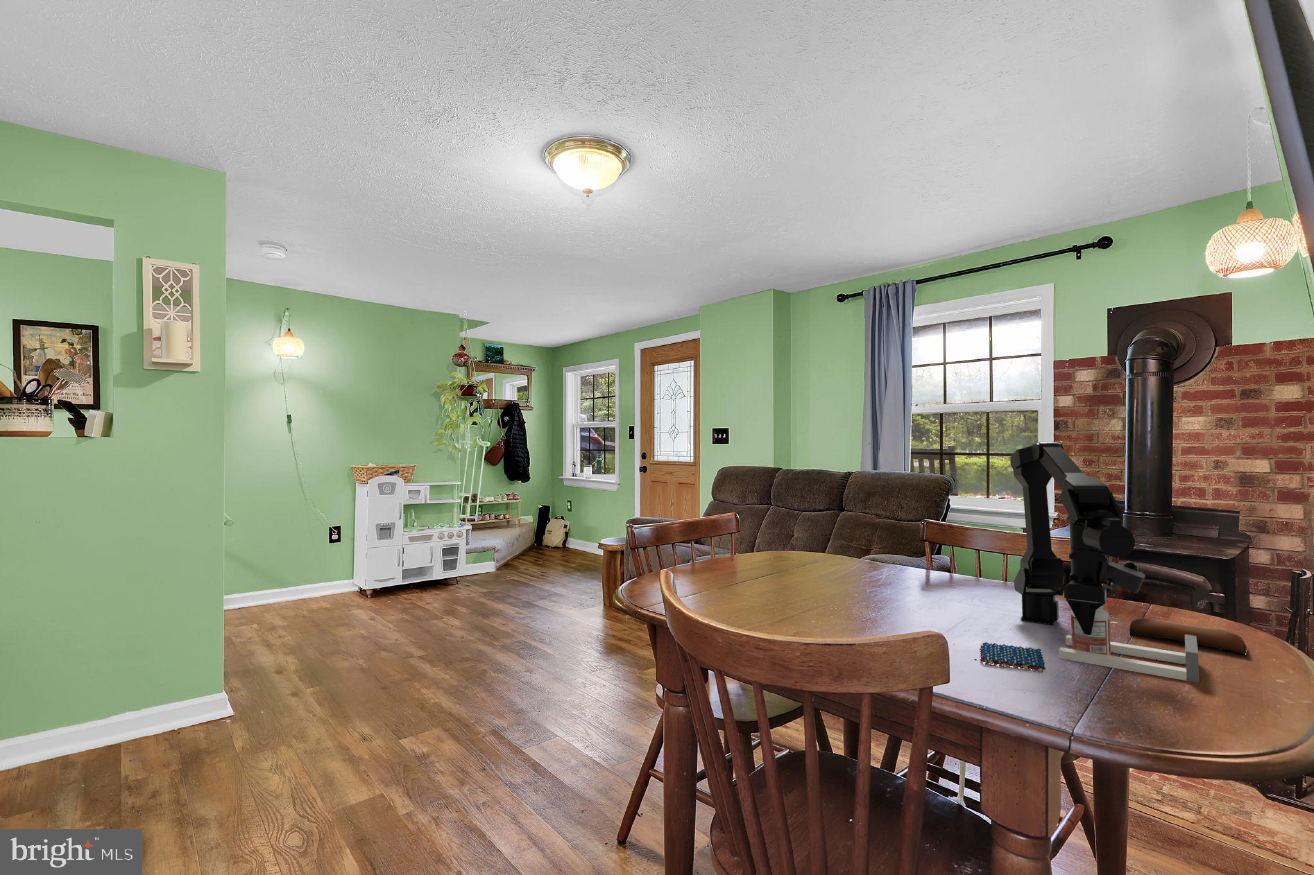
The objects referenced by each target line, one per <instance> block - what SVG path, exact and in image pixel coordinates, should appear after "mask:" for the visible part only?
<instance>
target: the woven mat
mask: <svg viewBox="0 0 1314 875" xmlns="http://www.w3.org/2000/svg"><path fill="white" fill-rule="evenodd" d="M980 650H981V651H980ZM980 652H981V653H980ZM979 653H980V657H981V659H980V658H979V660H980V662H982V661H983V662H986V664H988V663H990V664H993V663H995V665H996V664H1000V665H1003V666H1006V667H1007V666H1008V665H1009V666H1013V667H1015V668H1016V669H1017V668H1018V667H1020V669H1022V668H1024V669H1023V670H1024V671H1029V670H1030V669H1032V671H1031V672H1033V669H1034V670H1038V672H1039V673H1043V672H1044V671H1045V670H1046V666H1045V659H1044V656H1043V654H1042V653H1043V652H1042V649H1041V648H1034V647H1033V648H1032V647H1030V646H1029V647H1023V646H1022V645H1021V646H1018V645H1016V646H1014V645H1012V644H1011V645H1009V644H1007V645H1006V644H1004V643H1003V644H1001V643H1000V644H997V643H995V642H994V643H992V642H990V643H989V642H987V641H985V642H982V643H981V645H980V648H979ZM1009 666H1008V667H1009ZM1028 669H1029V670H1028Z"/></svg>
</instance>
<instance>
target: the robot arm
mask: <svg viewBox="0 0 1314 875" xmlns="http://www.w3.org/2000/svg"><path fill="white" fill-rule="evenodd" d="M1009 461H1010V462H1009V463H1010V466H1011V468H1012V472H1013V477H1014V478H1015V479H1016V480H1017V482H1018V483H1019V484H1020V485H1021V486H1022V493H1023V494H1022V495H1023V496H1022V497H1023V508H1024V520H1025V534H1026V545H1027V546H1026V547H1027V549H1026V551H1025V553H1024V554H1023V556H1022V558H1021V559H1020V563H1019V564H1020V566H1019V567H1020V568H1019V570H1018V572H1017V574H1016V576H1015V578H1014V580H1013V585H1014V587H1013V588H1014V591H1016V592H1017V593H1018V594H1020V595H1021V615H1022V616H1021V617H1020V621H1024V622H1030V623H1037V624H1044V625H1050V626H1054V625H1055V624H1056V622H1058V620H1059V619H1060V616H1059V615H1060V614H1059V613H1060V611H1059V609H1060V608H1059V601H1058V600H1057V599H1056V596H1060V597H1061V596H1062V597H1063V598H1064V599H1065V601H1066V602H1067V603H1068V605H1069V607H1070V610H1072V611H1073V613H1074V615H1075V617H1076V619H1077V621H1078V623H1079V625H1080V627H1081V629H1082V631H1083V633H1084V634H1085V635H1091V634H1092V629H1093V624H1094V619H1095V614H1096V610H1097V609H1098V608H1100V607H1101V606H1103V605H1104V606H1106V602H1107V594H1108V593H1109V592H1111V590H1112V586H1113V584H1115V585H1117V586H1120V587H1122V588H1125V589H1127V590H1128V591H1129V592H1131V593H1135V594H1138V593H1139V591H1140V588H1141V587H1142V584H1143V582H1144V580H1145V578H1146V574H1145V573H1143V571H1139V566H1138V564H1137V563H1135V562H1133V561H1130V560H1127V561H1126V562H1124V563H1123V564H1121V563H1116V562H1114V561H1110V560H1111V559H1110V558H1116V559H1117V558H1118V559H1119V558H1124V557H1126V556H1129V555H1130V554H1131V553H1132V552H1133V551H1134V548H1135V545H1136V539H1135V538H1134V535H1133V533H1132V532H1131V530H1129V529H1128V528H1126V526H1125V527H1124V526H1123V515H1122V513H1123V511H1122V509H1121V507H1120V505H1119V504H1118V501H1116V498H1115V496H1114V493H1113V492H1112V491H1111V489H1110V488H1109V486H1108V485H1107V484H1106V483H1104V482H1103V481H1101V480H1100V479H1099V478H1096V477H1093V476H1090V475H1087V474H1085V473H1084V472H1083V471H1082V469H1081V468H1080V467H1079V466H1078V465H1077V463H1075V461H1074V460H1073V459H1072V458H1071V457H1070V456H1069V455H1068V453H1067V452H1066V451H1065V450H1064V446H1063V444H1062V443H1061V442H1057V441H1047V442H1045V441H1044V442H1042V441H1039V442H1037V443H1034V444H1032V445H1029V446H1026V447H1022V448H1017V449H1015V451H1014V452H1013V453H1011V454H1010V460H1009ZM1052 479H1053V480H1054V481H1055V482H1056V484H1057V485H1058V486H1059V487H1060V490H1061V492H1060V496H1059V498H1060V501H1061V503H1062V506H1063V508H1064V509H1065V510H1066V512H1067V514H1068V515H1067V516H1066V518H1065V519H1066V521H1067V522H1069V539H1070V540H1069V542H1070V544H1069V546H1070V547H1069V548H1070V552H1069V553H1068V559H1069V560H1070V574H1069V582H1068V583H1066V578H1067V577H1066V573H1065V571H1064V565H1063V564H1064V562H1063V560H1062V558H1061V557H1058V556H1057V555H1056V553H1055V552H1054V550H1053V548H1052V538H1051V537H1052V536H1051V535H1052V533H1051V523H1050V512H1049V511H1050V510H1049V501H1048V499H1049V498H1048V489H1047V488H1048V484H1049V483H1050V481H1051V480H1052Z"/></svg>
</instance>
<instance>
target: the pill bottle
mask: <svg viewBox="0 0 1314 875" xmlns="http://www.w3.org/2000/svg"><path fill="white" fill-rule="evenodd" d="M1104 607H1105V605H1103V606H1101V607H1100V608H1098V609H1097V610H1096V614H1095V619H1094V624H1093V629H1092V634H1091V635H1085V634H1084V633H1083V631H1082V629H1081V627H1080V625H1079V623H1078V621H1077V619H1076V617H1075V615H1074V613H1073V611H1072V609H1070V627H1071V629H1070V633H1071V636H1072V646H1071V649H1073V650H1079V651H1085V652H1091V653H1097V654H1103V655H1109V656H1112V655H1111V653H1112V652H1111V646H1110V642H1111V622H1110V621H1111V620H1110V613H1109V612H1108V611H1107V610H1105V609H1104Z"/></svg>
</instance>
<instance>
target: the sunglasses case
mask: <svg viewBox="0 0 1314 875" xmlns="http://www.w3.org/2000/svg"><path fill="white" fill-rule="evenodd" d="M1128 630H1129V635H1130V636H1132V635H1134V636H1142V637H1151V638H1159V639H1170V640H1172V641H1179V642H1183V643H1185V635H1192V636H1196V638H1197V645H1200V646H1204V647H1211V648H1214V649H1220V650H1225V651H1231V652H1236V653H1239V654H1242V655H1243V656H1244V655H1245V653H1246V650H1247V644H1246V643H1245V641H1244V639H1243V638H1242V636H1240V635H1239V634H1237V633H1234V632H1231V631H1229V630H1225V629H1221V628H1217V627H1209V626H1198V625H1191V624H1184V623H1179V622H1173V621H1170V620H1166V619H1160V618H1151V617H1150V618H1149V617H1143V618H1135V619H1133V620H1132V621H1131V622H1130V625H1129V628H1128Z"/></svg>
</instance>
